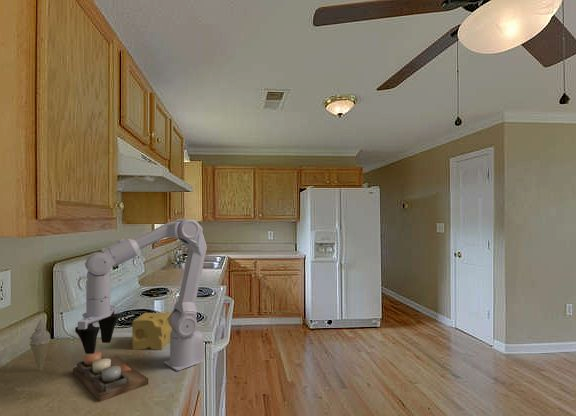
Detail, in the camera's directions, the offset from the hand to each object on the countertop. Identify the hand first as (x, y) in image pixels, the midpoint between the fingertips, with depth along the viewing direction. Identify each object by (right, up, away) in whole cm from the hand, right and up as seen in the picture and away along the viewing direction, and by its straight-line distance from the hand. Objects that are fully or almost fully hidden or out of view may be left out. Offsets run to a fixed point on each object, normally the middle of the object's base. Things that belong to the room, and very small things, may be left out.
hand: (98, 347), depth 95 cm
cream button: (0, -6, +1) cm, 7 cm away
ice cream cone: (-21, -10, +8) cm, 25 cm away
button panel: (+2, -10, +3) cm, 10 cm away
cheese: (+4, -10, +28) cm, 30 cm away
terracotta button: (-5, -7, +6) cm, 10 cm away
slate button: (+5, -6, -4) cm, 9 cm away
